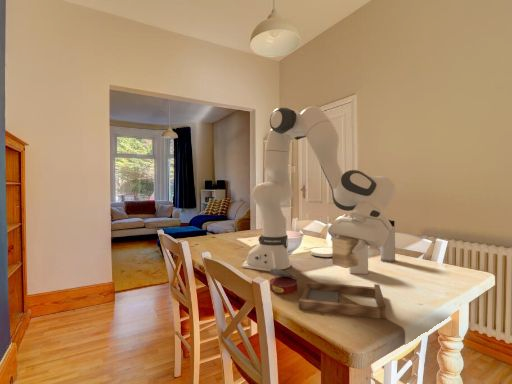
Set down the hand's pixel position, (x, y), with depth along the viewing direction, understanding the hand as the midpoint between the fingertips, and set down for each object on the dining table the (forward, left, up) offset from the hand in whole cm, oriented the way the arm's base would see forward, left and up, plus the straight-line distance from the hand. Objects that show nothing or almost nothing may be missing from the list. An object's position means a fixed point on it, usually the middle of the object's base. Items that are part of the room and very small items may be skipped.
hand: (343, 251), depth 87 cm
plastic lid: (-11, +58, -17) cm, 62 cm away
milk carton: (+5, +33, -17) cm, 37 cm away
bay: (-1, 0, -16) cm, 16 cm away
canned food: (-21, +6, -17) cm, 28 cm away
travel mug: (+19, +53, -17) cm, 59 cm away
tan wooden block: (0, 0, -4) cm, 4 cm away
